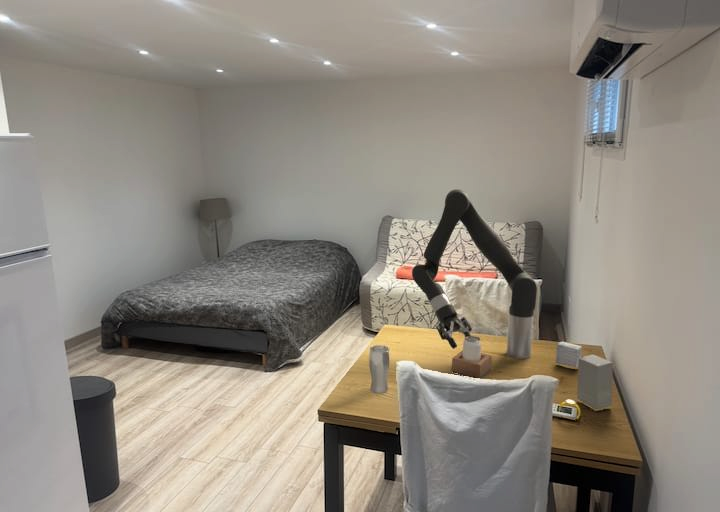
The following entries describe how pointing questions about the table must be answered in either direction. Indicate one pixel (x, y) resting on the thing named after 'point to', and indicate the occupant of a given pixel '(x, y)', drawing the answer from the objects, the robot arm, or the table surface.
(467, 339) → the can
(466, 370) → the box
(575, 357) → the medicine box
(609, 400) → the skincare box
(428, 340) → the table surface
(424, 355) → the table surface
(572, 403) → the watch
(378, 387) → the beer glass
